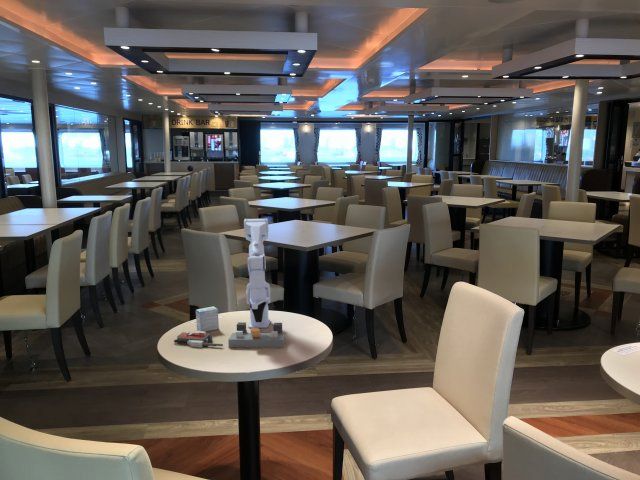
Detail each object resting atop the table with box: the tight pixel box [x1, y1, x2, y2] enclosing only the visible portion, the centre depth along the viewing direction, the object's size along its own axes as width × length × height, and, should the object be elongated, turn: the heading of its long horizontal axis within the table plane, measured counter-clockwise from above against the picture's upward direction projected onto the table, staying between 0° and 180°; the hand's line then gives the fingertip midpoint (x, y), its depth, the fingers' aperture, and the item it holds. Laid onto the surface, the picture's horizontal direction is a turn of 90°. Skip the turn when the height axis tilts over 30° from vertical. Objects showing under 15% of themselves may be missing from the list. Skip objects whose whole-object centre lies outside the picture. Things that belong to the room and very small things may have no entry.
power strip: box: [227, 330, 286, 349], centre depth 193 cm, size 7×20×5 cm, turn 87°
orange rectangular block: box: [250, 328, 262, 338], centre depth 190 cm, size 1×3×5 cm
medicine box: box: [195, 306, 220, 333], centre depth 210 cm, size 8×4×9 cm, turn 123°
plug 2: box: [272, 322, 283, 333], centre depth 201 cm, size 10×3×6 cm, turn 176°
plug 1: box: [236, 321, 248, 333], centre depth 202 cm, size 10×3×6 cm, turn 176°
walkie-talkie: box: [173, 330, 224, 349], centre depth 195 cm, size 9×4×20 cm
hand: (258, 321), depth 197 cm, fingers closed
